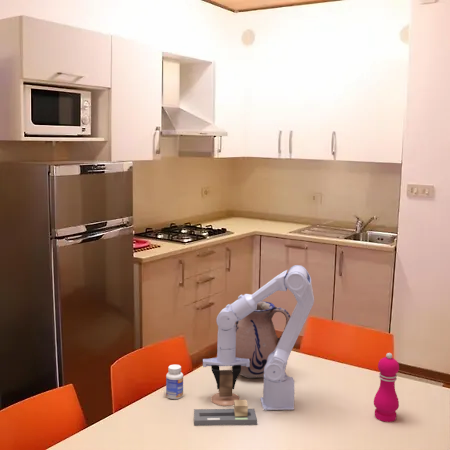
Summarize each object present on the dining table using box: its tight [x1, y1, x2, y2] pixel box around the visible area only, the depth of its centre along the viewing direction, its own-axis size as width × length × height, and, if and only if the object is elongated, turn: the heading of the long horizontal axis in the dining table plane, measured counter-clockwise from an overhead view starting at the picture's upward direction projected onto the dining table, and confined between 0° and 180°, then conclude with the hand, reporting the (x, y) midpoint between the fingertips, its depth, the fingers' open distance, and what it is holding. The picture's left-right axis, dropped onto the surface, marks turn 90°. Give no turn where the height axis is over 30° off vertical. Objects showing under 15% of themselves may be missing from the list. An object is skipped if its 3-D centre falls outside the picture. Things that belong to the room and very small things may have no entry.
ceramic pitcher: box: [235, 300, 291, 379], centre depth 199 cm, size 18×21×25 cm
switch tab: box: [233, 399, 249, 417], centre depth 167 cm, size 4×4×3 cm
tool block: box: [218, 369, 233, 397], centre depth 179 cm, size 4×4×7 cm
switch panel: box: [193, 408, 258, 426], centre depth 167 cm, size 18×7×2 cm, turn 94°
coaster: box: [210, 392, 241, 407], centre depth 180 cm, size 9×9×1 cm
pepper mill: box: [373, 352, 400, 423], centre depth 169 cm, size 7×7×20 cm
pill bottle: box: [165, 364, 184, 400], centre depth 181 cm, size 5×5×10 cm
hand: (225, 388), depth 180 cm, fingers closed on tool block, 4 cm apart
